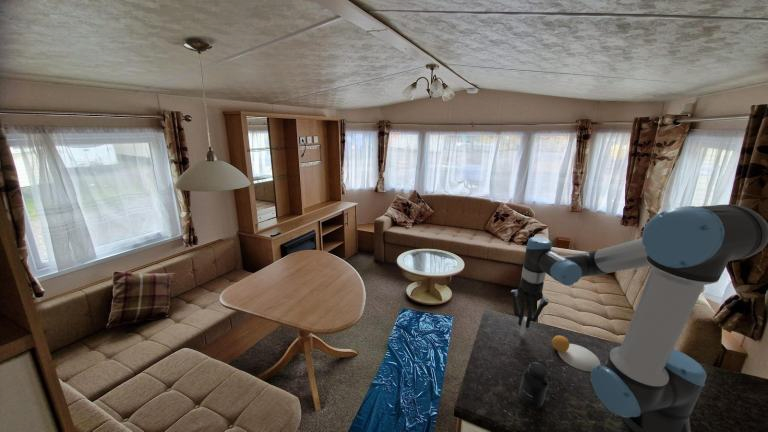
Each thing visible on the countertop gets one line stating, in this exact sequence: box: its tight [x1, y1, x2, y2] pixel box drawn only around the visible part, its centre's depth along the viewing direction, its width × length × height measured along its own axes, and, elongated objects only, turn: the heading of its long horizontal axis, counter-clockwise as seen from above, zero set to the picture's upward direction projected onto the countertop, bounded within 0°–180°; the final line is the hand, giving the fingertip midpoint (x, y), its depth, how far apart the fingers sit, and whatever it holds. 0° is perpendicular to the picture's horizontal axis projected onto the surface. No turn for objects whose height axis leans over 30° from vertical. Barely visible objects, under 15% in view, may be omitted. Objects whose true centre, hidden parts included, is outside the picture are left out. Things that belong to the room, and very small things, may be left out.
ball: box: [551, 334, 570, 352], centre depth 113 cm, size 6×6×6 cm
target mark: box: [557, 343, 601, 372], centre depth 111 cm, size 13×13×1 cm
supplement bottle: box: [518, 361, 549, 409], centre depth 92 cm, size 7×7×12 cm
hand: (522, 332), depth 119 cm, fingers closed
